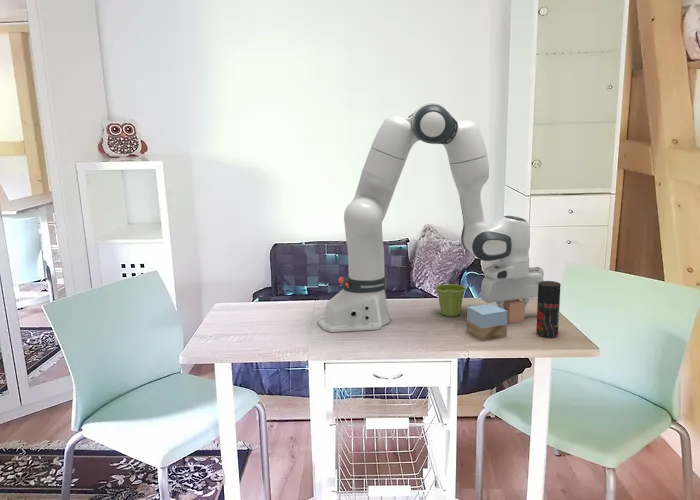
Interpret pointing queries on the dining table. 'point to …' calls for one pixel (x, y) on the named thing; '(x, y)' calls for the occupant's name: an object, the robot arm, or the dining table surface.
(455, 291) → the plant pot
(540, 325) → the deodorant
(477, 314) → the tower top
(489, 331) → the tower base
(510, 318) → the terracotta block
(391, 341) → the dining table surface
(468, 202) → the robot arm
